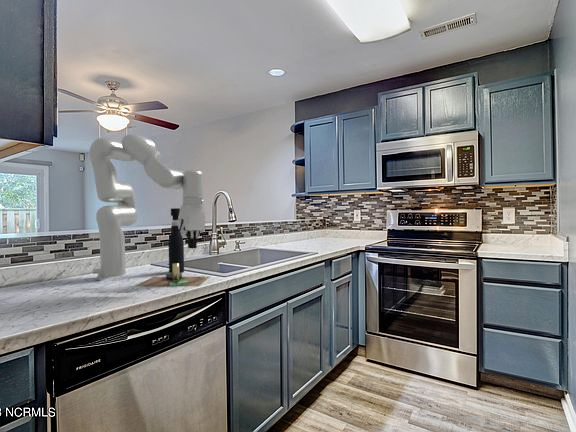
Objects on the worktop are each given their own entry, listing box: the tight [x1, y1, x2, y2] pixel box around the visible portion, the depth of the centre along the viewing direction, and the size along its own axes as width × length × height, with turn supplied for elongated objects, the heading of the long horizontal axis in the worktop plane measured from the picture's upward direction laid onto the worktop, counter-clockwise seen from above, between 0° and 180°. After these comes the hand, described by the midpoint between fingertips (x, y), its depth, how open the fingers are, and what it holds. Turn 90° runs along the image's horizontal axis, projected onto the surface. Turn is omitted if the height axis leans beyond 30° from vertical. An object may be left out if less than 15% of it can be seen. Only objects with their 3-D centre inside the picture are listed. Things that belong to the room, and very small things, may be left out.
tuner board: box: [135, 275, 211, 287], centre depth 125 cm, size 24×16×2 cm
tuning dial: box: [165, 263, 183, 282], centre depth 124 cm, size 16×6×8 cm, turn 24°
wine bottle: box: [168, 207, 185, 274], centre depth 142 cm, size 6×6×30 cm
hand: (192, 247), depth 127 cm, fingers closed
